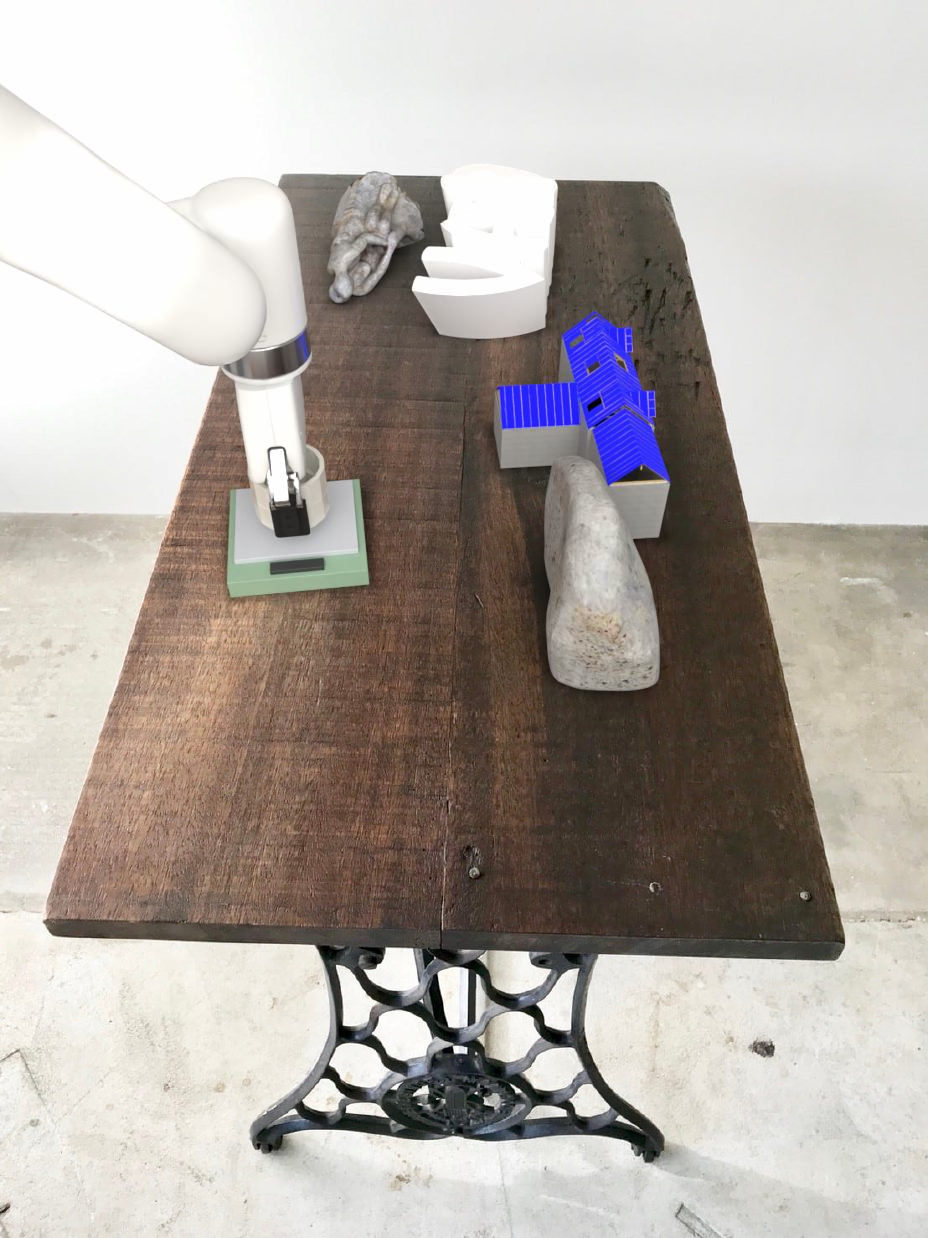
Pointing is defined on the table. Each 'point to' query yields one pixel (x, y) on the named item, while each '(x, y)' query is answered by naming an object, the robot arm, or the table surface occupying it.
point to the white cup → (311, 490)
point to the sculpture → (370, 233)
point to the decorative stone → (595, 587)
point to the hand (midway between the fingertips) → (292, 505)
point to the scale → (297, 547)
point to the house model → (591, 422)
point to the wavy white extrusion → (491, 254)
